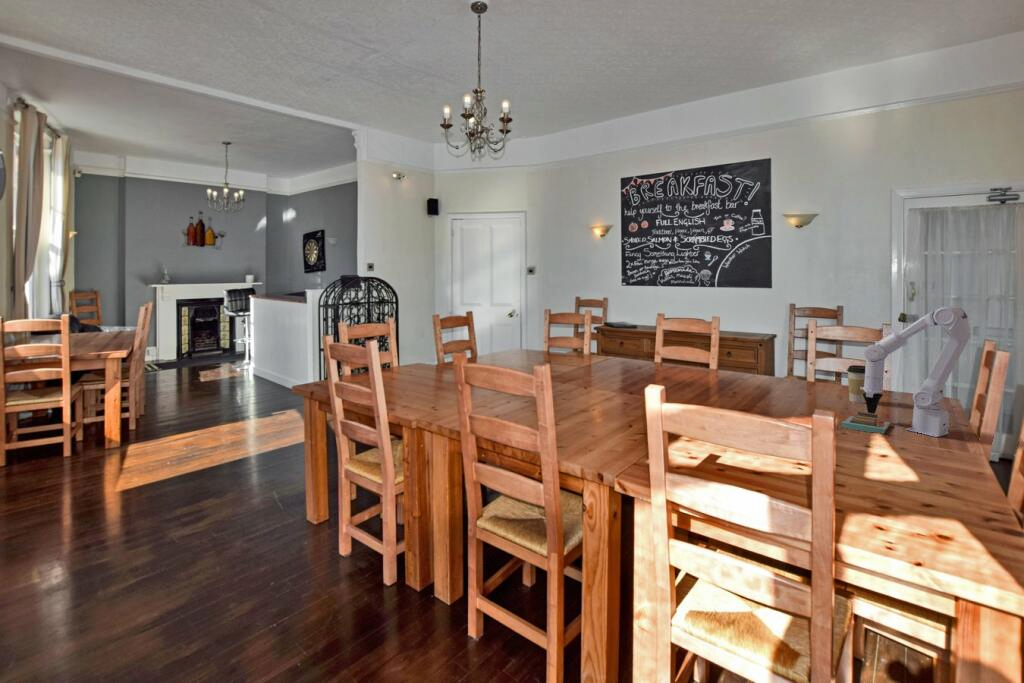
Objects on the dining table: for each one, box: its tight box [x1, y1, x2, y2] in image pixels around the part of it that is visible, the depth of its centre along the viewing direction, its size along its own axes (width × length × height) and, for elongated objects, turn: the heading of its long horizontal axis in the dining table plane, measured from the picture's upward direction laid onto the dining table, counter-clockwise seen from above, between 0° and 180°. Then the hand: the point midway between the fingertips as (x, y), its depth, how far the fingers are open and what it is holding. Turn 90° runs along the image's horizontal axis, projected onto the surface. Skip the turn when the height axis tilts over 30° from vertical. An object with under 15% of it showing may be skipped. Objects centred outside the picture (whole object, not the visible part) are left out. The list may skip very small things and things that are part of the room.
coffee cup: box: [846, 364, 866, 404], centre depth 225 cm, size 10×10×15 cm
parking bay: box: [840, 415, 891, 435], centre depth 190 cm, size 14×12×2 cm
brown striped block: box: [853, 411, 879, 427], centre depth 189 cm, size 7×6×4 cm
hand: (871, 412), depth 197 cm, fingers closed
